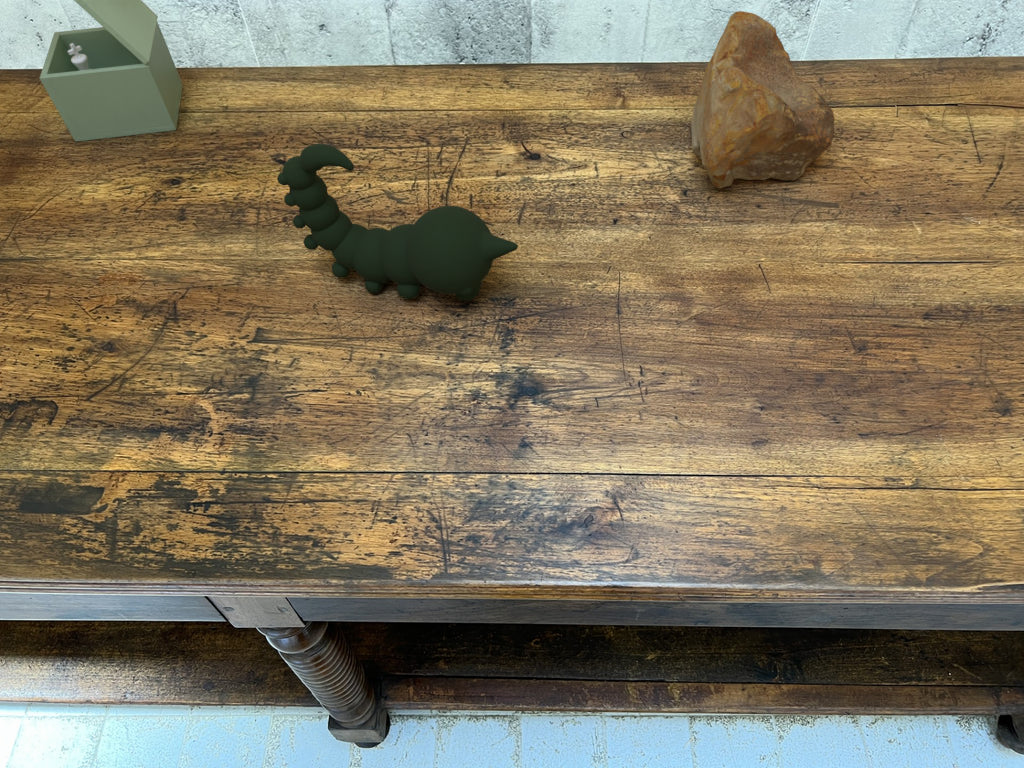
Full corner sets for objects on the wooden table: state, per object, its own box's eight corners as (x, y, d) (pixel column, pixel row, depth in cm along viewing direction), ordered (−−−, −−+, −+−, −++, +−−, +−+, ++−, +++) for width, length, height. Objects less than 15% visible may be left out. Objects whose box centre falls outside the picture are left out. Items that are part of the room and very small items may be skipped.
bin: (75, 142, 111) (39, 78, 103) (87, 95, 118) (54, 32, 110) (176, 130, 112) (148, 66, 104) (183, 84, 118) (157, 21, 110)
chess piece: (130, 108, 114) (98, 42, 106) (99, 125, 112) (64, 60, 104) (110, 95, 116) (78, 29, 108) (80, 111, 114) (44, 45, 106)
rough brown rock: (815, 234, 98) (866, 129, 86) (678, 208, 99) (710, 102, 87) (812, 119, 112) (856, 15, 100) (692, 98, 113) (721, -7, 101)
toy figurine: (310, 302, 95) (514, 332, 89) (250, 172, 80) (490, 196, 74) (341, 246, 101) (537, 270, 94) (290, 114, 86) (518, 132, 79)
